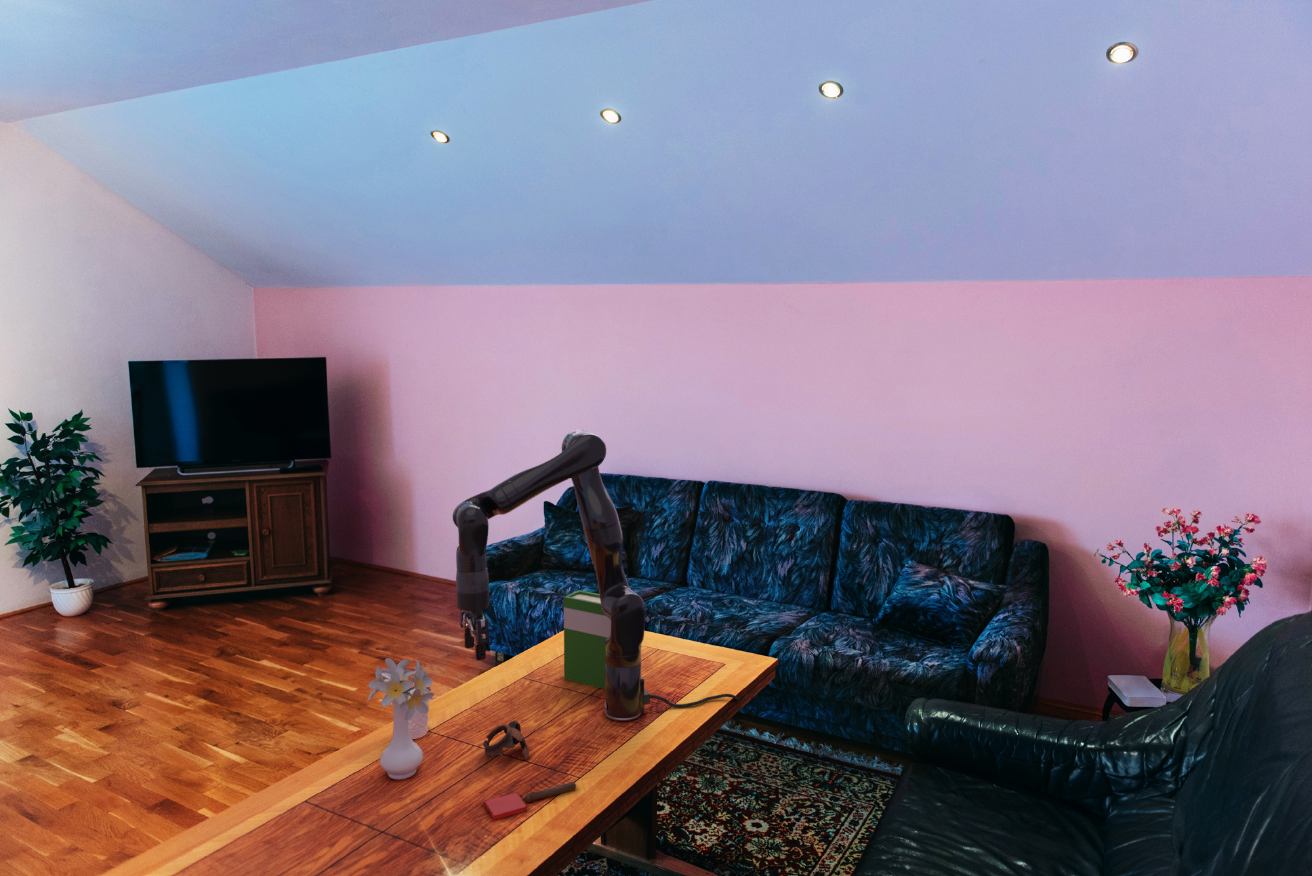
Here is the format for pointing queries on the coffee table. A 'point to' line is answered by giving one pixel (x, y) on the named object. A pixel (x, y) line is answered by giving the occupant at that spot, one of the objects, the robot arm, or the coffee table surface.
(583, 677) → the hardback book
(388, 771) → the flower vase
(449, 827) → the coffee table surface
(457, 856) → the coffee table surface
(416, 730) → the white cup
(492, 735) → the dark brown curved piece
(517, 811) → the spatula
